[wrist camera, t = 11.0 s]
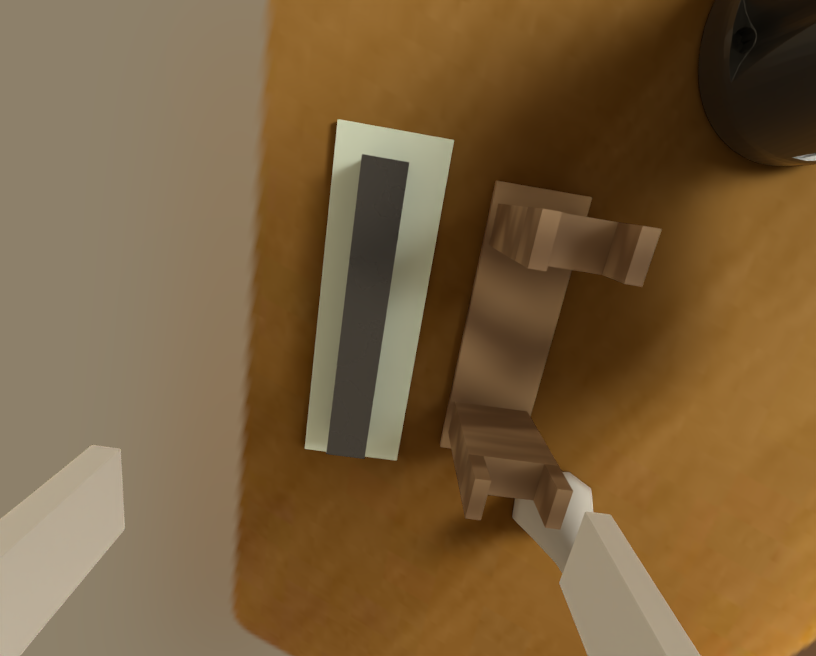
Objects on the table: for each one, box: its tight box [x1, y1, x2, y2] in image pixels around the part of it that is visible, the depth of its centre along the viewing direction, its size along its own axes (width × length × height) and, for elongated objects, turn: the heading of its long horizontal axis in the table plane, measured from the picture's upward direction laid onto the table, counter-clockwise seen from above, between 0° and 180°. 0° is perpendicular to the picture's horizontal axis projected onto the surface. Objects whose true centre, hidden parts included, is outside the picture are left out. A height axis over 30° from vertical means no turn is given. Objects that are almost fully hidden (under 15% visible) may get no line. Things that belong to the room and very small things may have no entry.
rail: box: [326, 154, 409, 459], centre depth 31 cm, size 22×3×3 cm, turn 171°
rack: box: [440, 181, 662, 530], centre depth 29 cm, size 22×7×10 cm, turn 171°
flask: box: [512, 472, 593, 573], centre depth 34 cm, size 7×7×10 cm
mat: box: [305, 119, 454, 461], centre depth 33 cm, size 26×8×1 cm, turn 171°
